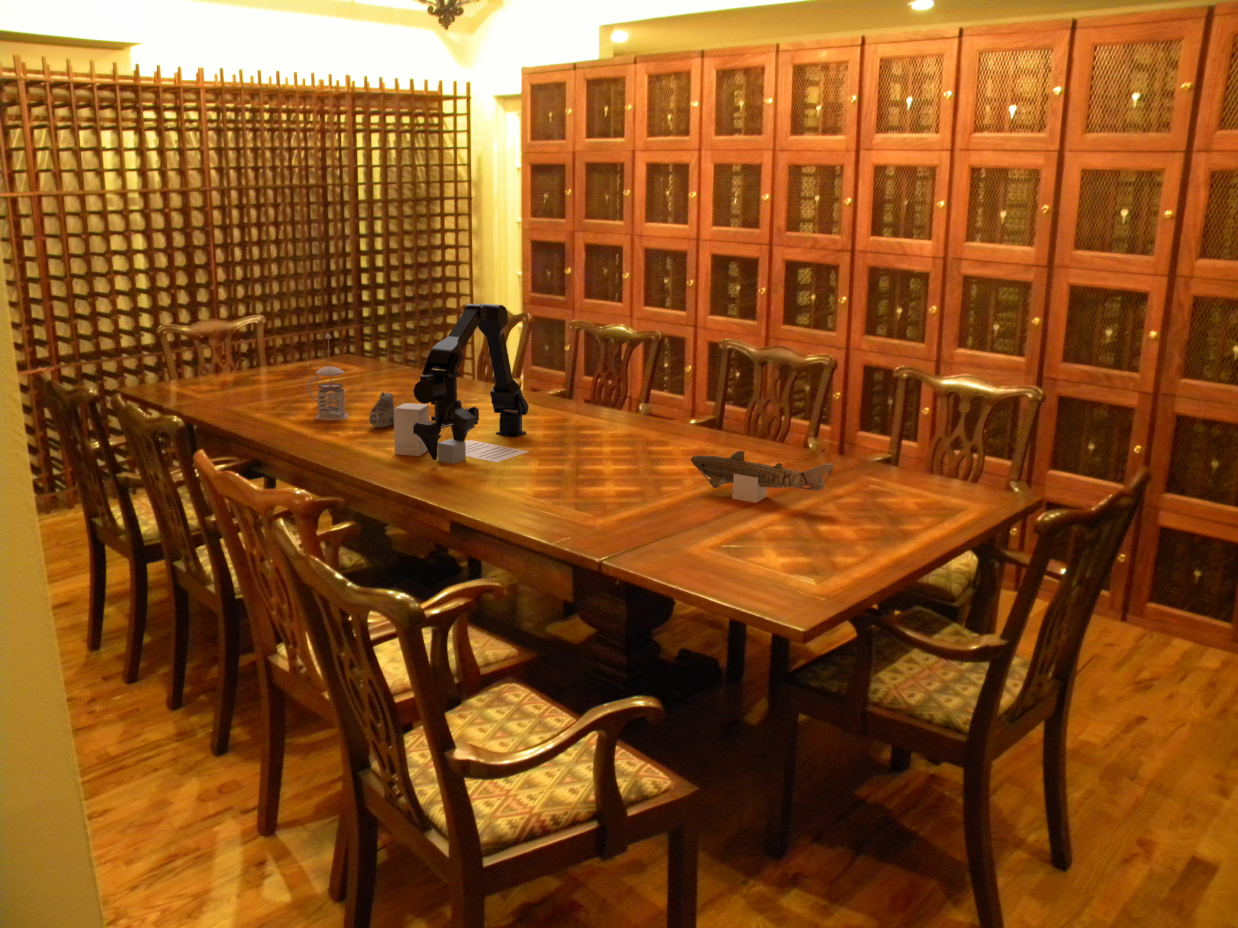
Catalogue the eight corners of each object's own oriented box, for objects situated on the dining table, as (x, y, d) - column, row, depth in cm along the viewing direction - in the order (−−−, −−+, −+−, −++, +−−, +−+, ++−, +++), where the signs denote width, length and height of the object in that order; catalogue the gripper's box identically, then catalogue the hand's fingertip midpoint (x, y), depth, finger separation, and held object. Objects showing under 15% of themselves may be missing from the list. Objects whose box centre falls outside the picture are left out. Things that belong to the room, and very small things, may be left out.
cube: (451, 457, 279) (450, 439, 278) (465, 460, 277) (465, 442, 275) (438, 461, 275) (437, 442, 274) (452, 464, 273) (452, 445, 271)
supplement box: (420, 456, 279) (419, 409, 276) (393, 454, 281) (392, 408, 277) (430, 450, 286) (429, 404, 283) (404, 448, 288) (403, 402, 284)
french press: (343, 420, 317) (340, 337, 310) (305, 419, 317) (300, 336, 311) (352, 413, 326) (348, 332, 320) (314, 412, 327) (310, 331, 320)
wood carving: (823, 516, 237) (827, 468, 234) (682, 491, 254) (684, 446, 251) (836, 506, 245) (840, 459, 242) (698, 482, 261) (700, 438, 258)
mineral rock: (376, 432, 304) (375, 398, 301) (351, 427, 310) (350, 393, 307) (410, 425, 314) (409, 391, 311) (385, 419, 320) (384, 386, 317)
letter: (469, 440, 297) (469, 439, 297) (529, 452, 286) (529, 451, 286) (435, 450, 286) (435, 449, 286) (496, 463, 275) (496, 462, 275)
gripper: (444, 406, 258) (446, 468, 262) (493, 395, 273) (494, 453, 277) (410, 400, 264) (412, 461, 268) (460, 389, 279) (461, 447, 283)
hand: (446, 456), depth 274 cm, fingers open, 9 cm apart
